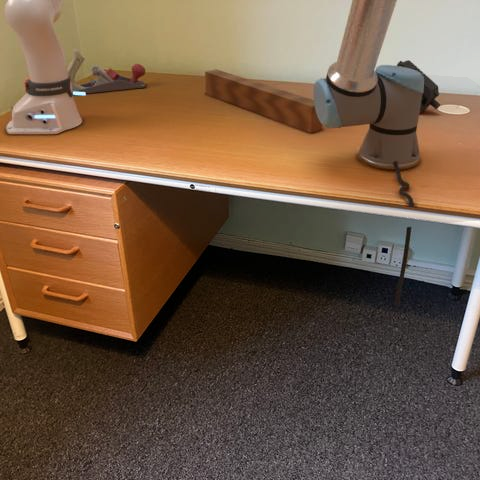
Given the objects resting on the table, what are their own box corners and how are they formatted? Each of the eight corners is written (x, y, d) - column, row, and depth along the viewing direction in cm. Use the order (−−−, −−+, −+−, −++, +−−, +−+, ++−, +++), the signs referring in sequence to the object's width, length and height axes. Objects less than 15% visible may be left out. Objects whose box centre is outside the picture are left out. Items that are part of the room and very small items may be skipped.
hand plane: (62, 90, 197) (53, 48, 189) (145, 82, 205) (140, 41, 197) (62, 96, 191) (54, 53, 184) (148, 87, 199) (143, 45, 191)
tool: (378, 91, 179) (405, 54, 169) (421, 128, 175) (451, 93, 164) (370, 95, 176) (396, 58, 165) (413, 134, 171) (443, 98, 161)
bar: (322, 129, 158) (324, 103, 154) (310, 133, 156) (312, 106, 151) (216, 91, 193) (216, 69, 189) (206, 94, 191) (204, 71, 187)
